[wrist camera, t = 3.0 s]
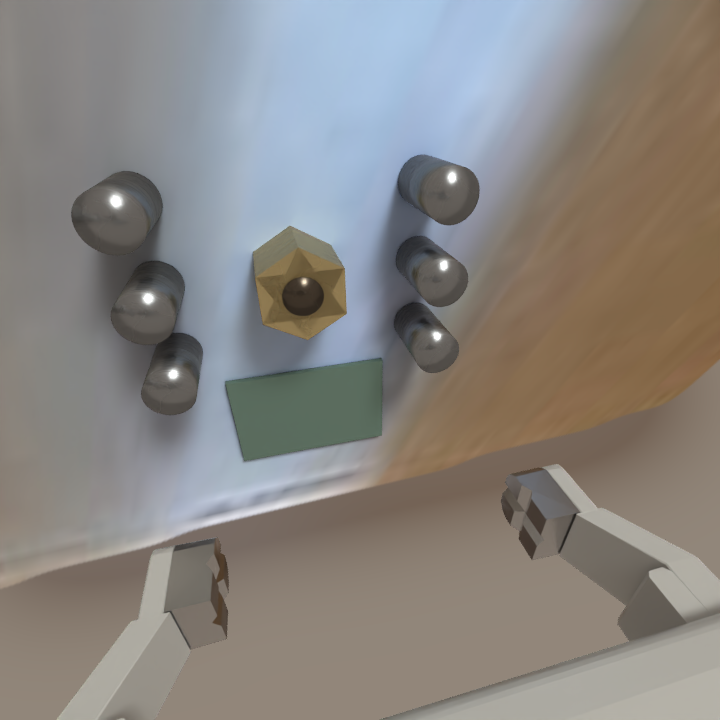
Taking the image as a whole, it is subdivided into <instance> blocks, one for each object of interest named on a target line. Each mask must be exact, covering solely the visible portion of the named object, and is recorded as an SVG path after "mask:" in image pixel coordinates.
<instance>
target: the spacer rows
mask: <svg viewBox="0 0 720 720" xmlns="http://www.w3.org/2000/svg"><path fill="white" fill-rule="evenodd" d="M398 189H399V192H400V194H401V196H402V198H403V199H404V200H405V201H406V202H408V203H409V204H411V205H412V206H414V207H415V208H417V209H418V210H420V211H421V212H423V213H424V214H426V215H427V216H429V217H431V218H432V219H434V220H435V221H437V222H438V223H440V224H443V225H455V224H458V223H460V222H462V221H463V220H465V219H466V218H467V217H468V216H469V215H470V214H471V213H472V212H473V210H474V208H475V207H476V204H477V202H478V199H479V183H478V180H477V178H476V176H475V174H474V173H473V172H472V171H471V170H469V169H468V168H465V167H462V166H459V165H456V164H453V163H450V162H447V161H444V160H441V159H438V158H435V157H432V156H429V155H417V156H414V157H412V158H411V159H409V160H408V161H407V162H406V163H405V164H404V166H403V167H402V169H401V171H400V174H399V178H398ZM162 208H163V203H162V198H161V195H160V193H159V191H158V189H157V188H156V186H155V185H154V184H153V183H152V182H151V181H150V180H149V179H147V178H146V177H144V176H142V175H141V174H138V173H135V172H130V171H122V172H117V173H115V174H113V175H111V176H110V177H108V178H106V179H105V180H103V181H102V182H100V183H98V184H97V185H95V186H94V187H92V188H90V189H89V190H87V191H85V192H84V193H82V194H81V195H80V196H79V197H78V198H77V199H76V200H75V202H74V204H73V207H72V212H71V216H72V222H73V225H74V228H75V230H76V232H77V233H78V235H79V236H80V237H81V239H82V240H83V241H84V242H85V243H87V244H88V245H89V246H91V247H92V248H94V249H95V250H97V251H100V252H102V253H105V254H109V255H125V254H129V253H131V252H133V251H135V250H136V249H137V248H139V247H140V245H141V244H142V243H143V241H144V240H145V238H146V237H147V235H148V234H149V232H150V231H151V229H152V228H153V226H154V225H155V223H156V222H157V220H158V219H159V217H160V215H161V213H162ZM396 265H397V268H398V270H399V271H400V273H401V274H402V275H403V276H404V277H405V278H406V279H407V280H408V282H409V283H410V284H411V285H412V286H413V287H414V288H415V289H416V290H417V292H418V293H419V294H420V295H421V296H422V297H423V298H424V299H425V301H426V302H427V303H429V304H430V305H432V306H436V307H444V306H448V305H450V304H452V303H454V302H455V301H457V300H458V299H459V298H460V297H461V296H462V294H463V293H464V291H465V289H466V287H467V284H468V274H467V270H466V269H465V267H464V266H463V265H462V264H461V263H460V262H458V261H457V260H456V259H455V258H453V257H452V256H451V255H449V254H448V253H447V252H446V251H444V250H443V249H442V248H440V247H439V246H438V245H436V244H435V243H434V242H433V241H431V240H430V239H428V238H427V237H424V236H414V237H411V238H409V239H407V240H406V241H405V242H404V243H403V244H402V245H401V246H400V248H399V249H398V252H397V255H396ZM184 291H185V283H184V280H183V277H182V276H181V274H180V273H179V272H178V270H176V269H175V268H174V267H173V266H171V265H169V264H167V263H164V262H160V261H149V262H145V263H143V264H141V265H140V266H138V267H137V268H136V270H135V271H134V273H133V275H132V276H131V278H130V279H129V281H128V283H127V284H126V286H125V288H124V289H123V291H122V293H121V294H120V296H119V298H118V299H117V301H116V303H115V304H114V306H113V308H112V311H111V321H112V324H113V326H114V328H115V329H116V331H117V332H118V333H119V334H120V335H121V336H122V337H124V338H125V339H127V340H129V341H131V342H134V343H137V344H142V345H152V344H157V343H158V344H157V346H156V349H155V352H154V355H153V358H152V361H151V364H150V367H149V370H148V372H147V375H146V378H145V381H144V384H143V387H142V391H141V396H142V400H143V402H144V403H145V405H146V406H147V407H149V408H150V409H151V410H153V411H155V412H157V413H160V414H165V415H176V414H180V413H183V412H186V411H187V410H189V409H190V408H191V407H192V406H193V405H194V403H195V401H196V397H197V390H198V384H199V377H200V370H201V364H202V357H203V349H202V346H201V345H200V343H199V342H198V341H197V340H196V339H195V338H193V337H192V336H190V335H187V334H184V333H172V331H173V329H174V325H175V322H176V318H177V315H178V311H179V308H180V305H181V301H182V298H183V294H184ZM394 327H395V330H396V332H397V333H398V335H399V336H400V338H401V339H402V341H403V343H404V344H405V346H406V347H407V349H408V350H409V352H410V353H411V355H412V356H413V358H414V359H415V361H416V362H417V364H418V366H419V367H420V368H421V369H422V370H423V371H425V372H429V373H437V372H440V371H443V370H445V369H447V368H448V367H449V366H451V365H452V364H453V363H454V361H455V360H456V358H457V356H458V353H459V345H458V342H457V341H456V339H455V338H454V337H453V336H452V335H451V334H450V333H449V331H448V330H447V329H446V328H445V327H444V326H443V325H442V323H441V322H440V321H439V320H438V319H437V318H436V316H435V315H434V314H433V313H432V312H431V311H430V310H429V308H428V307H427V306H425V305H424V304H421V303H411V304H408V305H406V306H404V307H403V308H401V309H400V310H399V312H398V313H397V315H396V317H395V320H394ZM171 333H172V334H171Z"/></svg>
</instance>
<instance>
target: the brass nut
mask: <svg viewBox="0 0 720 720" xmlns="http://www.w3.org/2000/svg"><path fill="white" fill-rule="evenodd" d="M253 258H254V271H255V281H256V287H257V293H258V298H259V304H260V310H261V316H262V322H263V325H266V326H269V327H271V328H274V329H277V330H280V331H283V332H286V333H289V334H292V335H295V336H298V337H300V338H303V339H306V340H309V339H310V338H311V337H313V336H314V335H316V334H317V333H319V332H320V331H322V330H323V329H325V328H326V327H328V326H329V325H331V324H332V323H334V322H335V321H337V320H338V319H340V318H341V317H343V316H344V315H346V314H347V311H346V288H345V268H344V266H343V265H342V263H341V261H340V260H339V258H338V256H337V255H336V253H335V251H334V249H333V248H332V246H331V245H330V244H328V243H326V242H324V241H322V240H320V239H317V238H315V237H313V236H311V235H309V234H307V233H305V232H302V231H300V230H298V229H296V228H294V227H292V226H289V227H287V228H286V229H285V230H283V231H282V232H280V233H279V234H278V235H276V236H275V237H273V238H272V239H271V240H269V241H268V242H266V243H265V244H264V245H262V246H261V247H259V248H258V249H257V250H255V251H254V252H253Z"/></svg>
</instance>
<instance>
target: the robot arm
mask: <svg viewBox="0 0 720 720" xmlns="http://www.w3.org/2000/svg"><path fill="white" fill-rule="evenodd" d="M505 483H506V485H507V486H508V488H507V489H506V490H505V491H504V492H503V494H502V499H501V503H502V510H503V512H504V515H505V517H506V519H507V521H508V522H509V524H510V526H512V527H514V528H515V529H517V530H519V540H520V542H521V544H522V545H523V547H524V548H525V550H526V552H527V553H528V555H529V556H530V558H531V559H532V560H535V559H539V558H544V557H549V556H553V555H557V554H560V557H562V558H563V559H564V560H566V561H567V562H568V563H570V564H571V565H572V566H574V567H575V568H576V569H578V570H579V571H580V572H582V573H583V574H584V575H586V576H587V577H588V578H590V579H591V580H592V581H594V582H595V583H597V584H598V585H599V586H600V587H602V588H603V589H604V590H606V591H607V592H609V593H610V594H611V595H613V596H614V597H615V598H617V599H618V600H619V601H621V602H622V603H623V604H625V605H626V607H625V609H624V610H623V612H622V613H621V615H620V617H619V619H618V625H619V627H620V628H621V630H622V631H623V632H624V634H625V636H626V637H627V638H628V640H629V642H626V643H623V644H620V645H616V646H613V647H610V648H607V649H604V650H601V651H597V652H594V653H591V654H588V655H585V656H581V657H578V658H575V659H572V660H569V661H565V662H562V663H559V664H556V665H553V666H550V667H546V668H543V669H540V670H537V671H533V672H530V673H527V674H524V675H521V676H518V677H514V678H511V679H508V680H505V681H502V682H498V683H495V684H492V685H489V686H486V687H482V688H479V689H476V690H473V691H470V692H466V693H463V694H460V695H457V696H454V697H450V698H447V699H444V700H441V701H438V702H435V703H432V704H428V705H425V706H422V707H419V708H415V709H412V710H409V711H406V712H403V713H400V714H396V715H393V716H390V717H387V718H383V719H380V720H720V581H719V579H718V578H717V577H716V576H715V575H714V574H713V573H712V572H711V571H710V570H709V569H708V568H707V567H706V566H705V565H704V564H703V563H702V562H701V561H700V560H699V559H698V558H697V557H696V556H694V555H692V554H690V553H688V552H686V551H685V550H683V549H681V548H679V547H677V546H675V545H673V544H671V543H669V542H667V541H665V540H663V539H662V538H660V537H658V536H656V535H654V534H652V533H650V532H648V531H646V530H644V529H642V528H640V527H639V526H637V525H635V524H633V523H631V522H629V521H627V520H625V519H623V518H621V517H619V516H617V515H615V514H614V513H612V512H610V511H608V510H606V509H604V508H597V507H596V506H595V505H594V504H593V502H592V501H591V500H590V499H589V498H588V497H587V496H586V494H585V493H584V492H583V491H582V490H581V488H580V487H579V486H578V485H577V484H576V483H575V482H574V480H573V479H572V478H571V477H570V476H569V475H568V474H567V472H566V471H565V470H564V469H563V468H562V467H561V466H559V465H558V464H555V465H550V466H546V467H542V468H534V469H530V470H526V471H521V472H517V473H513V474H510V475H509V476H508V477H507V478H506V482H505ZM220 552H221V544H220V541H219V539H218V538H212V539H207V540H202V541H196V542H192V543H186V544H181V545H175V546H171V547H166V548H161V549H157V550H154V551H153V553H152V555H151V557H150V561H149V566H148V571H147V576H146V580H145V585H144V590H143V595H142V600H141V605H140V610H139V615H138V619H137V620H134V621H131V622H130V623H129V625H128V626H127V627H126V628H125V630H124V631H123V632H122V634H121V635H120V636H119V638H118V639H117V640H116V642H115V643H114V644H113V645H112V647H111V648H110V649H109V651H108V652H107V653H106V655H105V656H104V657H103V659H102V660H101V661H100V663H99V664H98V665H97V667H96V668H95V669H94V671H93V672H92V673H91V675H90V676H89V677H88V678H87V680H86V681H85V683H84V684H83V685H82V686H81V688H80V689H79V690H78V692H77V693H76V694H75V696H74V697H73V698H72V700H71V701H70V702H69V704H68V705H67V706H66V708H65V709H64V710H63V712H62V713H61V714H60V716H59V717H58V718H57V720H155V719H156V717H157V715H158V713H159V712H160V710H161V708H162V706H163V704H164V702H165V700H166V698H167V697H168V695H169V693H170V691H171V689H172V687H173V685H174V683H175V681H176V679H177V678H178V676H179V674H180V672H181V670H182V668H183V666H184V664H185V662H186V661H187V659H188V657H189V655H190V653H191V649H194V648H198V647H201V646H205V645H208V644H211V643H215V642H219V641H222V640H225V639H227V622H228V610H227V607H226V604H225V602H224V599H225V597H226V596H227V594H228V593H229V592H228V591H229V589H228V587H229V579H228V567H227V562H226V558H225V555H223V554H221V553H220Z"/></svg>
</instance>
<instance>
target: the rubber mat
mask: <svg viewBox="0 0 720 720" xmlns="http://www.w3.org/2000/svg"><path fill="white" fill-rule="evenodd" d="M382 363H383V361H382V359H381V358H378V359H372V360H365V361H358V362H352V363H345V364H338V365H332V366H325V367H319V368H312V369H305V370H299V371H292V372H285V373H279V374H272V375H265V376H259V377H252V378H245V379H239V380H232V381H226V388H227V392H228V396H229V400H230V404H231V408H232V412H233V416H234V420H235V424H236V428H237V432H238V436H239V441H240V445H241V449H242V453H243V457H244V461H247V460H252V459H258V458H263V457H268V456H274V455H279V454H284V453H290V452H295V451H301V450H306V449H311V448H317V447H322V446H327V445H333V444H338V443H343V442H349V441H354V440H360V439H365V438H370V437H376V436H381V435H382Z"/></svg>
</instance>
